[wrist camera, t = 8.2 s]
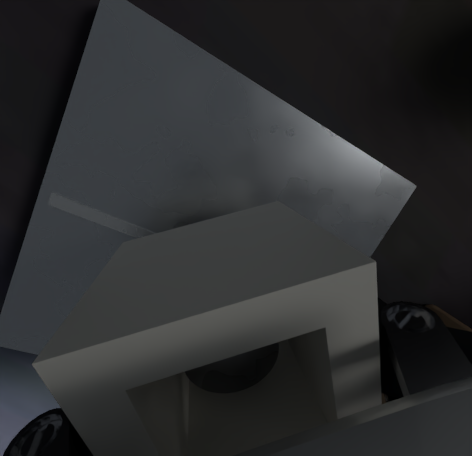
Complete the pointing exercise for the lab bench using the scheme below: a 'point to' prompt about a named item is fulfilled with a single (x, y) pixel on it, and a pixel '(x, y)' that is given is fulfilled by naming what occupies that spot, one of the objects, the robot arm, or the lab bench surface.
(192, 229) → the gray square frame
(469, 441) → the robot arm
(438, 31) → the lab bench surface
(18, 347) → the plate
